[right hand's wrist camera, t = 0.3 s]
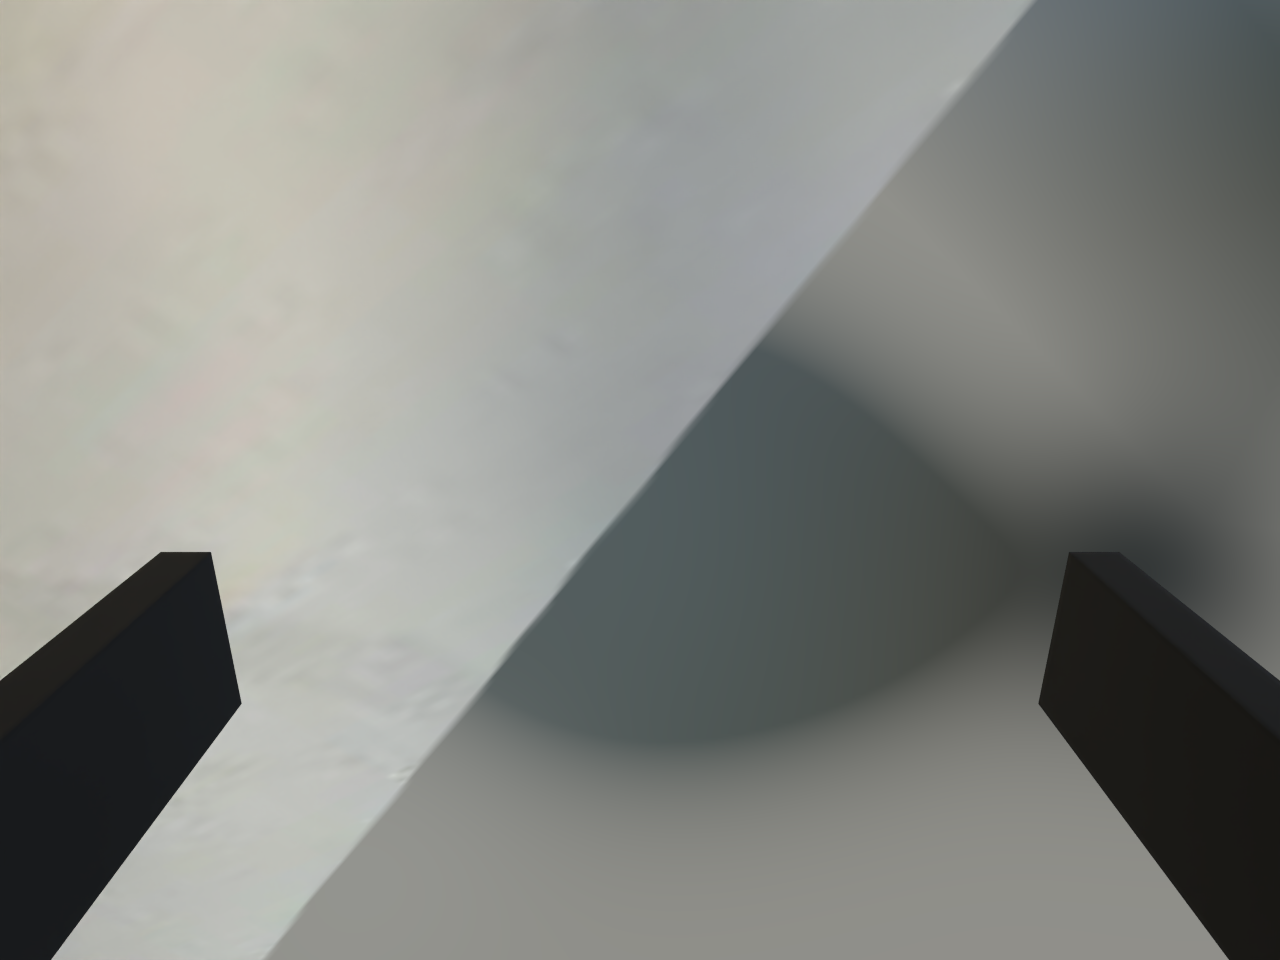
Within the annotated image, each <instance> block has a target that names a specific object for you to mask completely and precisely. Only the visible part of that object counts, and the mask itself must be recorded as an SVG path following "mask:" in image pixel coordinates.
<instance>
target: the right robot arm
mask: <svg viewBox="0 0 1280 960" xmlns="http://www.w3.org/2000/svg"><path fill="white" fill-rule="evenodd" d="M241 704H242V703H241V699H240V694H239V689H238V684H237V679H236V674H235V669H234V664H233V659H232V654H231V649H230V644H229V639H228V634H227V629H226V624H225V619H224V615H223V610H222V605H221V600H220V595H219V590H218V585H217V580H216V575H215V570H214V565H213V560H212V555H211V552H160V553H159V554H158V555H157V556H155V557H154V558H153V559H152V560H150V561H149V562H148V563H147V564H145V565H144V566H143V567H142V568H140V569H139V570H138V571H137V572H135V573H134V574H133V575H132V576H130V577H129V578H128V579H127V580H125V581H124V582H123V583H122V584H120V585H119V586H118V587H117V588H115V589H114V590H113V591H112V592H110V593H109V594H108V595H107V596H105V597H104V598H103V599H102V600H100V601H99V602H98V603H97V604H95V605H94V606H93V607H92V608H90V609H89V610H88V611H87V612H85V613H84V614H83V615H82V616H80V617H79V618H78V619H77V620H75V621H74V622H73V623H72V624H71V625H69V626H68V627H67V628H66V629H64V630H63V631H62V632H61V633H59V634H58V635H57V636H56V637H54V638H53V639H52V640H51V641H49V642H48V643H47V644H46V645H44V646H43V647H42V648H41V649H39V650H38V651H37V652H36V653H34V654H33V655H32V656H31V657H29V658H28V659H27V660H26V661H24V662H23V663H22V664H21V665H19V666H18V667H17V668H16V669H14V670H13V671H12V672H11V673H9V674H8V675H7V676H6V677H4V678H3V679H2V680H1V681H0V960H51V959H52V958H53V956H54V955H55V954H56V952H57V951H58V950H59V948H60V947H61V946H62V944H63V943H64V942H65V940H66V939H67V937H68V936H69V935H70V933H71V932H72V931H73V929H74V928H75V927H76V925H77V924H78V923H79V921H80V920H81V919H82V917H83V916H84V915H85V913H86V912H87V911H88V909H89V908H90V907H91V905H92V904H93V903H94V901H95V900H96V899H97V897H98V896H99V894H100V893H101V892H102V890H103V889H104V888H105V886H106V885H107V884H108V882H109V881H110V880H111V878H112V877H113V876H114V874H115V873H116V872H117V870H118V869H119V868H120V866H121V865H122V864H123V862H124V861H125V860H126V858H127V857H128V856H129V854H130V853H131V851H132V850H133V849H134V847H135V846H136V845H137V843H138V842H139V841H140V839H141V838H142V837H143V835H144V834H145V833H146V831H147V830H148V829H149V827H150V826H151V825H152V823H153V822H154V821H155V819H156V818H157V817H158V815H159V814H160V813H161V811H162V810H163V808H164V807H165V806H166V804H167V803H168V802H169V800H170V799H171V798H172V796H173V795H174V794H175V792H176V791H177V790H178V788H179V787H180V786H181V784H182V783H183V782H184V780H185V779H186V778H187V776H188V775H189V774H190V772H191V771H192V770H193V768H194V767H195V765H196V764H197V763H198V761H199V760H200V759H201V757H202V756H203V755H204V753H205V752H206V751H207V749H208V748H209V747H210V745H211V744H212V743H213V741H214V740H215V739H216V737H217V736H218V735H219V733H220V732H221V731H222V729H223V728H224V727H225V725H226V724H227V722H228V721H229V720H230V718H231V717H232V716H233V714H234V713H235V712H236V710H237V709H238V708H239V706H240V705H241ZM1039 705H1040V706H1041V708H1042V709H1043V710H1044V712H1045V713H1046V714H1047V716H1048V717H1049V718H1050V720H1051V721H1052V722H1053V724H1054V725H1055V727H1056V728H1057V729H1058V731H1059V732H1060V733H1061V735H1062V736H1063V737H1064V739H1065V740H1066V741H1067V743H1068V744H1069V745H1070V747H1071V748H1072V749H1073V751H1074V752H1075V753H1076V755H1077V756H1078V757H1079V759H1080V760H1081V761H1082V763H1083V764H1084V765H1085V767H1086V768H1087V769H1088V771H1089V772H1090V773H1091V775H1092V776H1093V778H1094V779H1095V780H1096V782H1097V783H1098V784H1099V786H1100V787H1101V788H1102V790H1103V791H1104V792H1105V794H1106V795H1107V796H1108V798H1109V799H1110V800H1111V802H1112V803H1113V804H1114V806H1115V807H1116V808H1117V810H1118V811H1119V813H1120V814H1121V815H1122V817H1123V818H1124V819H1125V821H1126V822H1127V823H1128V824H1129V826H1130V827H1131V829H1132V830H1133V831H1134V833H1135V834H1136V835H1137V837H1138V838H1139V839H1140V841H1141V842H1142V843H1143V845H1144V846H1145V847H1146V849H1147V850H1148V851H1149V853H1150V854H1151V856H1152V857H1153V858H1154V860H1155V861H1156V862H1157V864H1158V865H1159V866H1160V868H1161V869H1162V870H1163V872H1164V873H1165V874H1166V876H1167V877H1168V878H1169V880H1170V881H1171V882H1172V884H1173V885H1174V886H1175V888H1176V889H1177V890H1178V892H1179V893H1180V894H1181V896H1182V897H1183V898H1184V900H1185V901H1186V903H1187V904H1188V905H1189V907H1190V908H1191V909H1192V911H1193V912H1194V913H1195V915H1196V916H1197V917H1198V919H1199V920H1200V921H1201V923H1202V924H1203V925H1204V927H1205V928H1206V929H1207V931H1208V932H1209V933H1210V935H1211V936H1212V937H1213V939H1214V940H1215V942H1216V943H1217V944H1218V946H1219V947H1220V948H1221V950H1222V951H1223V952H1224V954H1225V955H1226V956H1227V958H1228V959H1229V960H1280V681H1279V680H1278V679H1277V678H1276V677H1274V676H1273V675H1272V674H1271V673H1269V672H1268V671H1267V670H1266V669H1264V668H1263V667H1262V666H1261V665H1259V664H1258V663H1257V662H1256V661H1254V660H1253V659H1252V658H1251V657H1249V656H1248V655H1247V654H1246V653H1244V652H1243V651H1242V650H1241V649H1239V648H1238V647H1237V646H1236V645H1234V644H1233V643H1232V642H1231V641H1229V640H1228V639H1227V638H1226V637H1224V636H1223V635H1222V634H1221V633H1219V632H1218V631H1217V630H1216V629H1214V628H1213V627H1212V626H1211V625H1209V624H1208V623H1207V622H1206V621H1205V620H1203V619H1202V618H1201V617H1200V616H1198V615H1197V614H1196V613H1195V612H1193V611H1192V610H1191V609H1189V608H1188V607H1187V606H1186V605H1185V604H1183V603H1182V602H1181V601H1179V600H1178V599H1177V598H1176V597H1175V596H1173V595H1172V594H1171V593H1170V592H1168V591H1167V590H1166V589H1164V588H1163V587H1162V586H1161V585H1160V584H1158V583H1157V582H1156V581H1155V580H1153V579H1152V578H1151V577H1150V576H1148V575H1147V574H1146V573H1145V572H1143V571H1142V570H1141V569H1140V568H1138V567H1137V566H1136V565H1135V564H1133V563H1132V562H1131V561H1130V560H1128V559H1127V558H1126V557H1124V556H1123V555H1122V554H1121V553H1120V552H1069V555H1068V560H1067V565H1066V570H1065V575H1064V580H1063V585H1062V590H1061V595H1060V600H1059V605H1058V610H1057V615H1056V619H1055V625H1054V629H1053V634H1052V639H1051V644H1050V649H1049V654H1048V659H1047V664H1046V669H1045V674H1044V679H1043V684H1042V689H1041V694H1040V699H1039Z"/></svg>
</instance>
